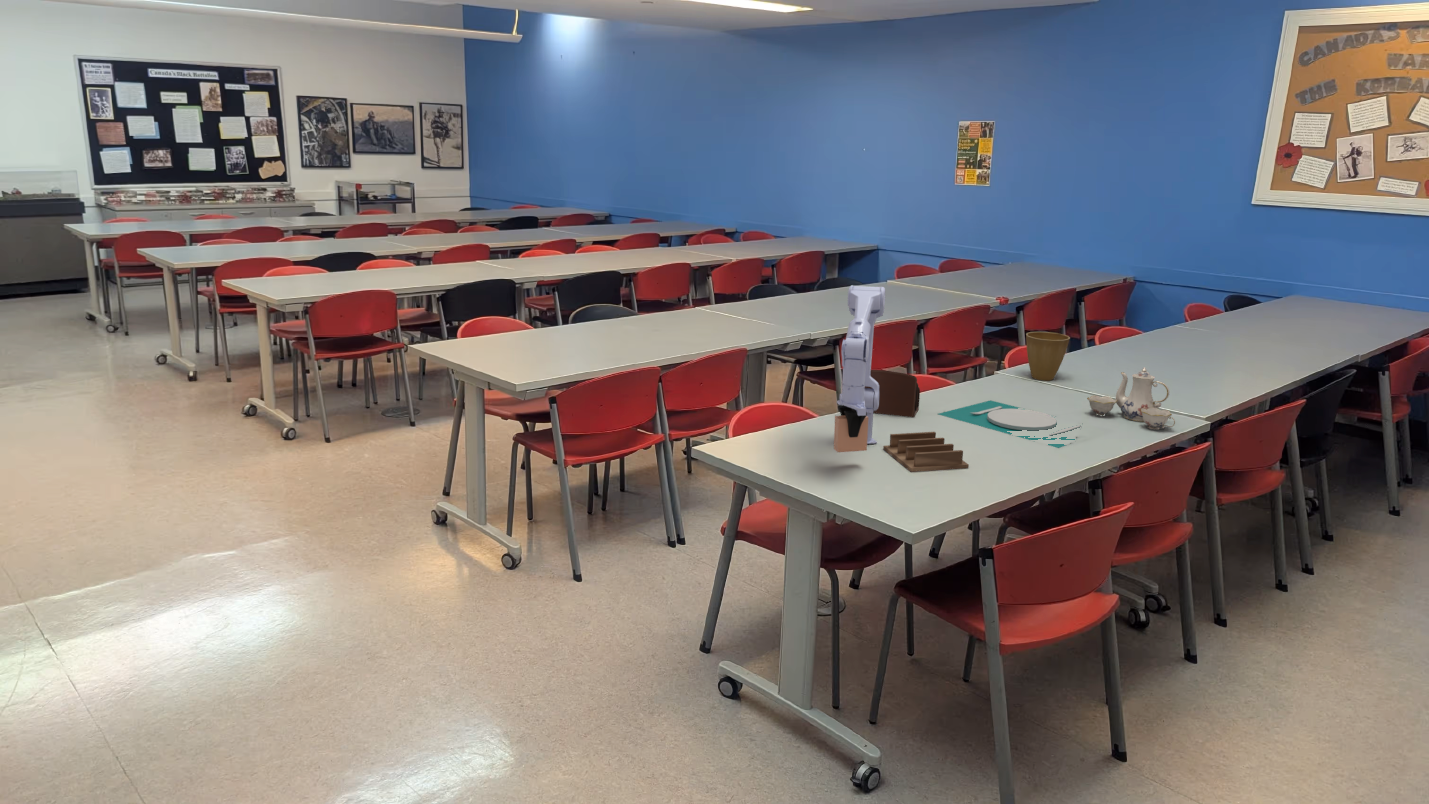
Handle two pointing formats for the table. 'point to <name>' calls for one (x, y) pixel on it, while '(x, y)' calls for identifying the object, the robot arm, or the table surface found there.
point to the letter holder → (896, 393)
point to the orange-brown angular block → (842, 436)
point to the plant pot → (1045, 353)
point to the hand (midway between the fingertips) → (851, 434)
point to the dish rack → (924, 452)
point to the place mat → (1008, 419)
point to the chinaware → (1135, 401)
